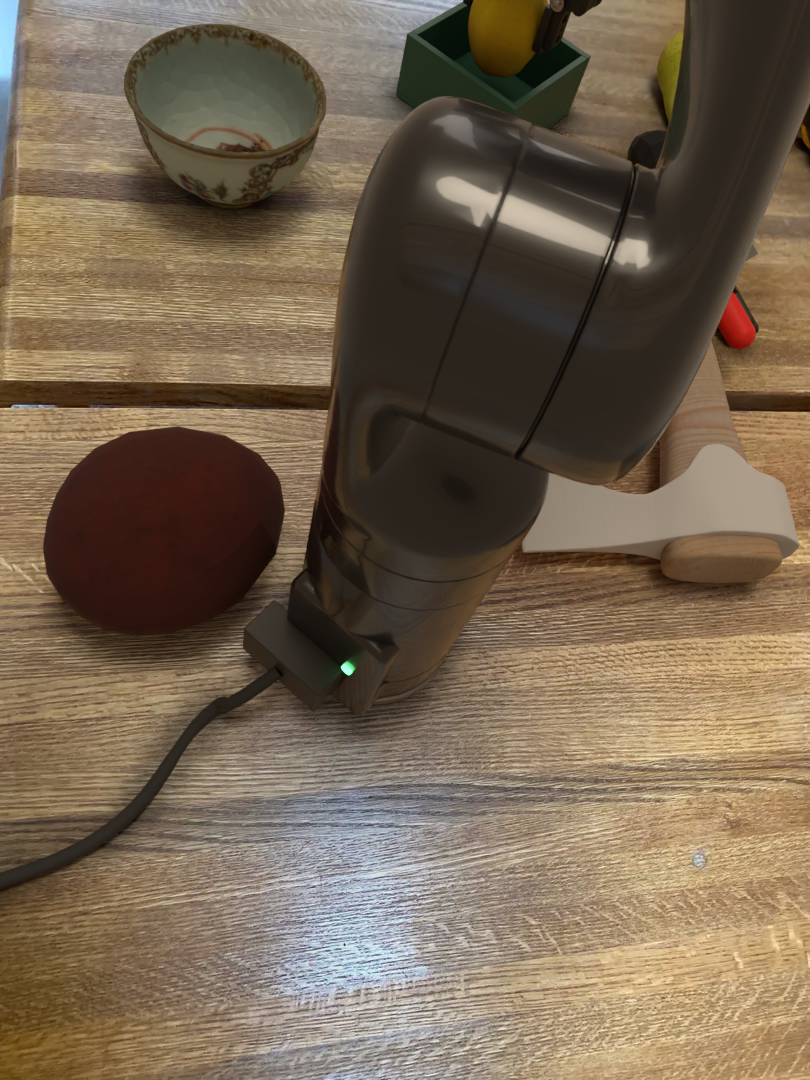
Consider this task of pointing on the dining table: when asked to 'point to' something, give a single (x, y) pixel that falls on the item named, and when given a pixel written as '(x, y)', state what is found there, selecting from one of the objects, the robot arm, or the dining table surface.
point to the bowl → (225, 110)
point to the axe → (682, 502)
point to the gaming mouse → (647, 148)
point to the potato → (162, 530)
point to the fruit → (669, 71)
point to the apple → (503, 34)
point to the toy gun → (738, 319)
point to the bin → (449, 70)
